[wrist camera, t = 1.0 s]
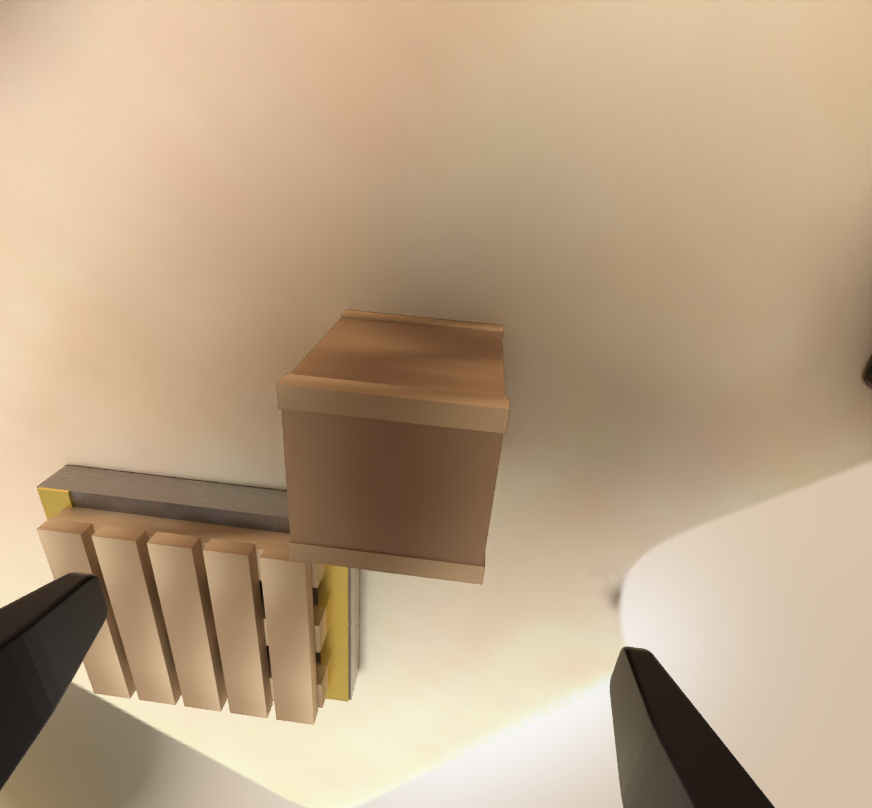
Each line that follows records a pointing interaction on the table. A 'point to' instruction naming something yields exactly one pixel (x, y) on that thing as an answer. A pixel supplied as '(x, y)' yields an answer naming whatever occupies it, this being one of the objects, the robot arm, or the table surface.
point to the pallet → (197, 612)
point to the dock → (229, 510)
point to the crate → (395, 445)
